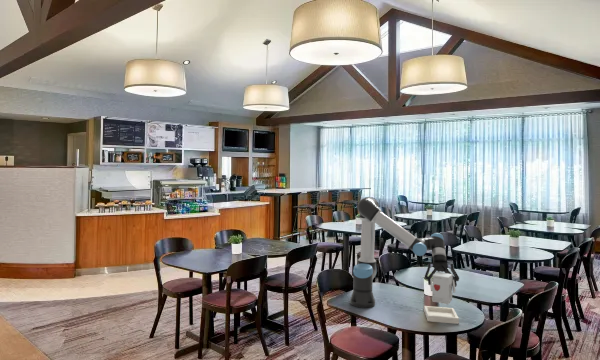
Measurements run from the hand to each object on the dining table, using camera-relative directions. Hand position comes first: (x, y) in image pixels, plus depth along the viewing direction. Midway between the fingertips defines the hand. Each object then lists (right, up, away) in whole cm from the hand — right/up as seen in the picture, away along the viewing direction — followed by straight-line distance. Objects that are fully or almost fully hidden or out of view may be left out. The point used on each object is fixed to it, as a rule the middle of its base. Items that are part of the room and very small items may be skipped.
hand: (443, 290), depth 217 cm
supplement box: (0, -6, +2) cm, 7 cm away
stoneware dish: (0, -16, +3) cm, 16 cm away
